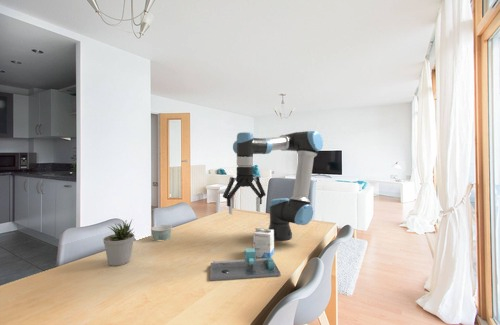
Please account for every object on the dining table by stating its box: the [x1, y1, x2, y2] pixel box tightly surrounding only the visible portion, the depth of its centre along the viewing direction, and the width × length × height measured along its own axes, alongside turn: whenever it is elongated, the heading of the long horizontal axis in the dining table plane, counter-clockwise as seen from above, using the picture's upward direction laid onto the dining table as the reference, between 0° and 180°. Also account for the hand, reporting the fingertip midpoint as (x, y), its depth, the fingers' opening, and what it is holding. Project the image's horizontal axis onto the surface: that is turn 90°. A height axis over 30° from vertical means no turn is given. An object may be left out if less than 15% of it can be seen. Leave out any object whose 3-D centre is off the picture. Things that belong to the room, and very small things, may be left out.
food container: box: [150, 224, 173, 241], centre depth 147 cm, size 12×12×6 cm
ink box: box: [252, 227, 275, 259], centre depth 123 cm, size 9×8×13 cm
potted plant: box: [102, 219, 135, 267], centre depth 113 cm, size 13×14×20 cm
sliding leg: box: [244, 247, 256, 269], centre depth 106 cm, size 4×8×6 cm, turn 8°
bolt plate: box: [209, 257, 282, 282], centre depth 105 cm, size 28×14×4 cm, turn 99°
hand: (244, 212), depth 115 cm, fingers open, 13 cm apart
